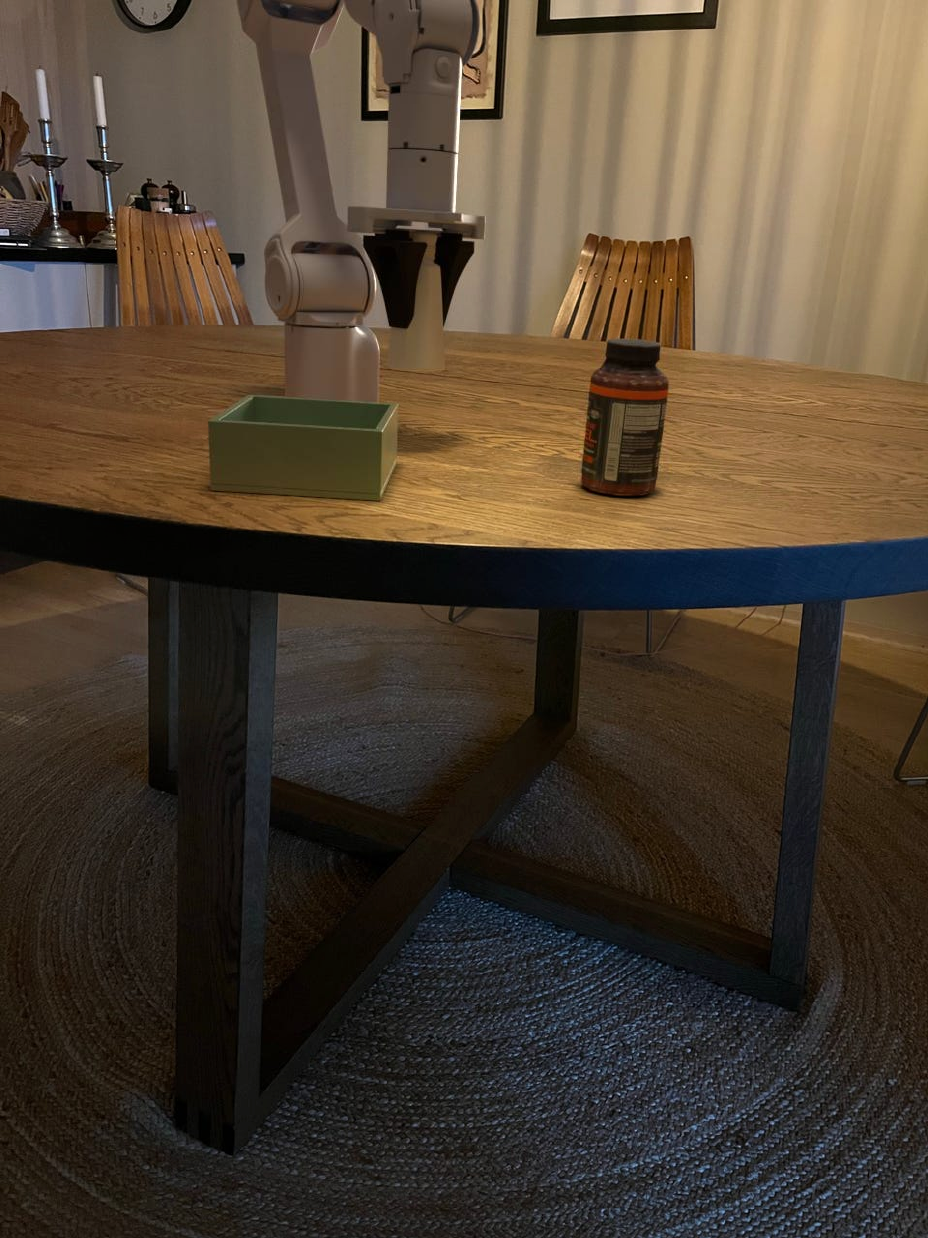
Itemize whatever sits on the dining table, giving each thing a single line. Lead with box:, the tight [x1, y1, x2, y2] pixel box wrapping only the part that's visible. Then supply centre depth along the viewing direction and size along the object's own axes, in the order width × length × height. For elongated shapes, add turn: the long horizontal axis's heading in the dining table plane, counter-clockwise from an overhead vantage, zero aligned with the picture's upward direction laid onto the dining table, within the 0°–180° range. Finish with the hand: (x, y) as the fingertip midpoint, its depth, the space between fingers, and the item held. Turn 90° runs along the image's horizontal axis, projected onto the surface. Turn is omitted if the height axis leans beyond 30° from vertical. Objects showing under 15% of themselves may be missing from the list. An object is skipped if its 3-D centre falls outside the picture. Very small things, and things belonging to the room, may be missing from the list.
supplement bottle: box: [580, 338, 670, 497], centre depth 77 cm, size 6×6×11 cm
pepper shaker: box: [386, 232, 446, 373], centre depth 85 cm, size 5×5×11 cm
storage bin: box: [207, 394, 399, 502], centre depth 76 cm, size 12×12×5 cm
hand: (416, 326), depth 85 cm, fingers closed on pepper shaker, 3 cm apart
